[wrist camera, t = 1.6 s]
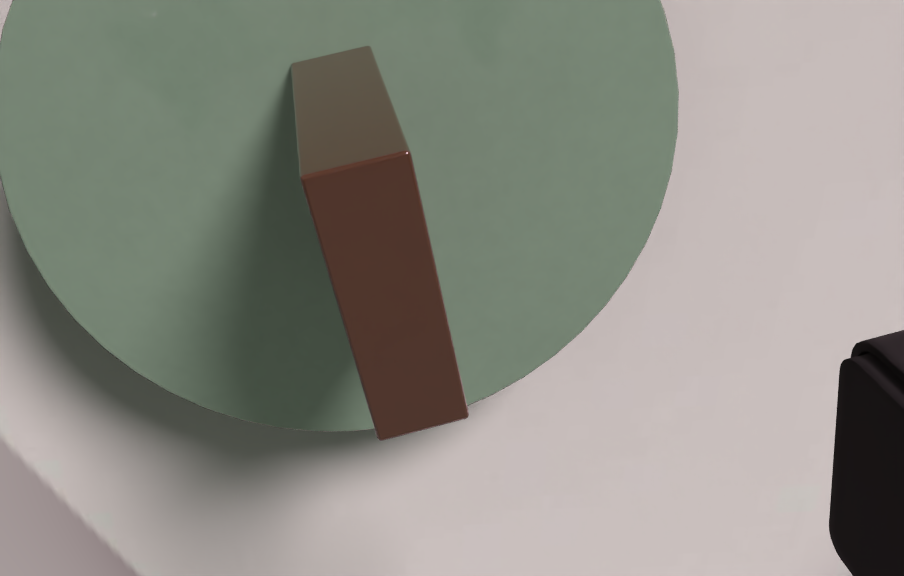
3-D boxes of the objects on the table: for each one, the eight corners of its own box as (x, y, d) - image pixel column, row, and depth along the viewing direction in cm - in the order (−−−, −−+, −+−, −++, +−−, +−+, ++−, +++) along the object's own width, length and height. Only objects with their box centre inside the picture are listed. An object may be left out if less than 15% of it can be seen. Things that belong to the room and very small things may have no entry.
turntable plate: (-141, -126, 15) (-388, -65, 9) (642, -293, 16) (851, -331, 10) (153, 465, 22) (116, 698, 17) (674, 330, 23) (803, 508, 17)
